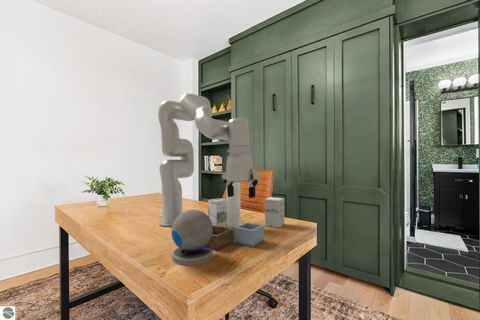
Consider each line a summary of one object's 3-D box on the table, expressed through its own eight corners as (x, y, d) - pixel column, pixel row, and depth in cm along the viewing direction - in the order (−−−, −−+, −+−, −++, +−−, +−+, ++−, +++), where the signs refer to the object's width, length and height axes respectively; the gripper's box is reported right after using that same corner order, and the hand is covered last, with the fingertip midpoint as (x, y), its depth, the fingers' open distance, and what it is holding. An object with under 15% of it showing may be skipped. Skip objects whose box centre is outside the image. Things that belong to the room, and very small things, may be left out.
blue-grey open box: (234, 243, 87) (234, 227, 87) (246, 237, 93) (246, 222, 93) (253, 247, 82) (253, 230, 82) (264, 241, 89) (263, 225, 89)
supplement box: (264, 226, 109) (264, 199, 109) (270, 222, 115) (270, 196, 115) (279, 228, 105) (279, 200, 105) (285, 224, 112) (284, 197, 112)
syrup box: (218, 230, 103) (218, 197, 103) (227, 233, 99) (227, 199, 99) (208, 233, 99) (207, 199, 99) (217, 236, 95) (216, 200, 95)
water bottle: (236, 228, 106) (235, 173, 106) (224, 226, 109) (223, 173, 109) (245, 223, 113) (244, 172, 113) (233, 222, 116) (233, 172, 116)
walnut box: (196, 245, 85) (195, 231, 85) (213, 237, 94) (213, 225, 94) (217, 250, 80) (216, 236, 80) (233, 242, 88) (233, 228, 88)
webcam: (220, 256, 76) (220, 209, 76) (186, 269, 66) (185, 216, 66) (197, 246, 85) (196, 204, 85) (164, 256, 75) (163, 210, 76)
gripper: (215, 152, 90) (217, 197, 89) (253, 149, 80) (255, 199, 80) (227, 153, 96) (229, 194, 96) (264, 150, 86) (266, 196, 86)
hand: (241, 197), depth 88 cm, fingers open, 9 cm apart
